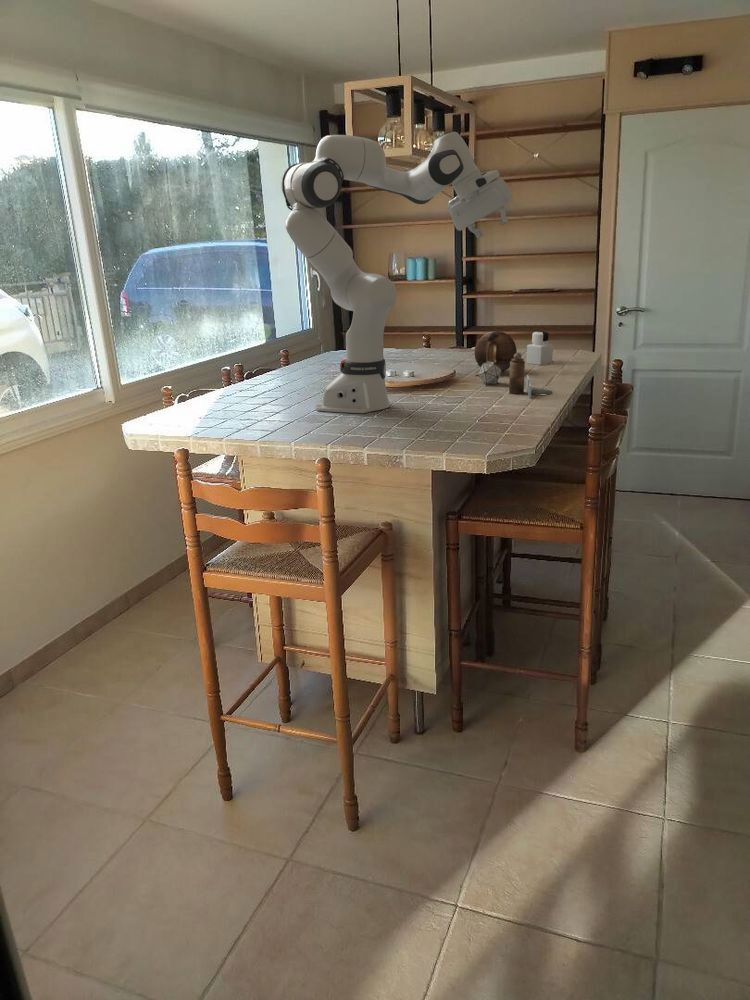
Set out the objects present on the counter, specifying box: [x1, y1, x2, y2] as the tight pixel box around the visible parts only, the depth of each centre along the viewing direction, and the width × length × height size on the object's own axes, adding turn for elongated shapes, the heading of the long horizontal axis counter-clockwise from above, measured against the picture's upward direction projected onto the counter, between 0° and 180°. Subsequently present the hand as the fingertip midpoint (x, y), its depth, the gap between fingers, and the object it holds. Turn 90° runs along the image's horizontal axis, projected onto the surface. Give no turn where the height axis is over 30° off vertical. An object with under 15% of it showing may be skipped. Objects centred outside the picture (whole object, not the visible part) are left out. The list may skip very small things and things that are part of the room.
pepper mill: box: [508, 352, 526, 395], centre depth 241 cm, size 5×5×13 cm
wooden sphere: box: [474, 330, 518, 373], centre depth 274 cm, size 15×15×15 cm
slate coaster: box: [531, 388, 552, 395], centre depth 242 cm, size 7×7×1 cm
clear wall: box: [525, 374, 532, 399], centre depth 242 cm, size 1×18×4 cm, turn 172°
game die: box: [475, 360, 505, 387], centre depth 256 cm, size 9×8×10 cm
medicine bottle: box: [525, 330, 554, 366], centre depth 291 cm, size 7×7×12 cm
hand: (492, 230), depth 226 cm, fingers open, 8 cm apart
